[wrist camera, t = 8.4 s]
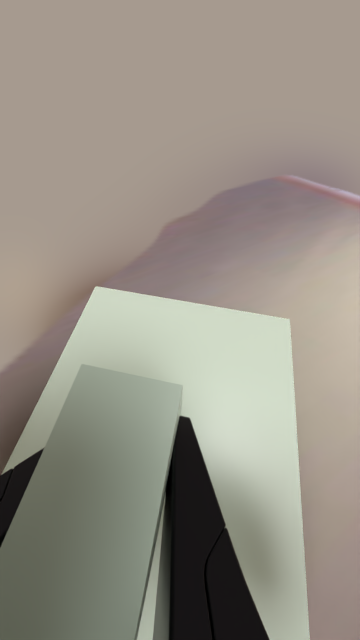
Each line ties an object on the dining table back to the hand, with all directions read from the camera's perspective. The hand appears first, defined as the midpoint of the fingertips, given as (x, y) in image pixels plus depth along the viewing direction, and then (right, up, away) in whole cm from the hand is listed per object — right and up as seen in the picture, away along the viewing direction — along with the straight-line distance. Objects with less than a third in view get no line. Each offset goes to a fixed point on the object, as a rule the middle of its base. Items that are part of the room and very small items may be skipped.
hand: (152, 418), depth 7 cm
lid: (0, -4, +4) cm, 5 cm away
